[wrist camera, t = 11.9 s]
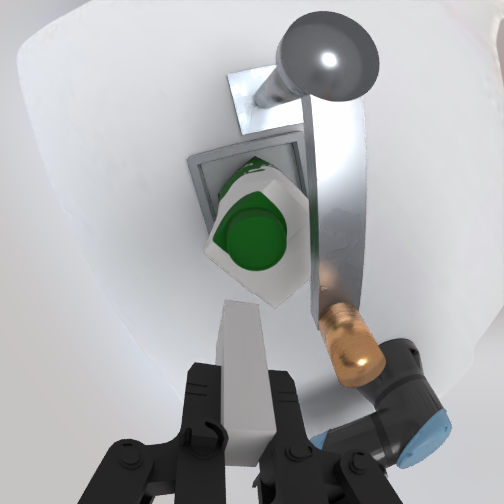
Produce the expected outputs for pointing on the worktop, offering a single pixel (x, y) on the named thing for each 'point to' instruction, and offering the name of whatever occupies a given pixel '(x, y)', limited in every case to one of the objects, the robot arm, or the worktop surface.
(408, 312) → the worktop surface
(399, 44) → the worktop surface
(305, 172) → the socket frame
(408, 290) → the worktop surface
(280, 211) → the soya milk
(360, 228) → the crank handle
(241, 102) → the post
